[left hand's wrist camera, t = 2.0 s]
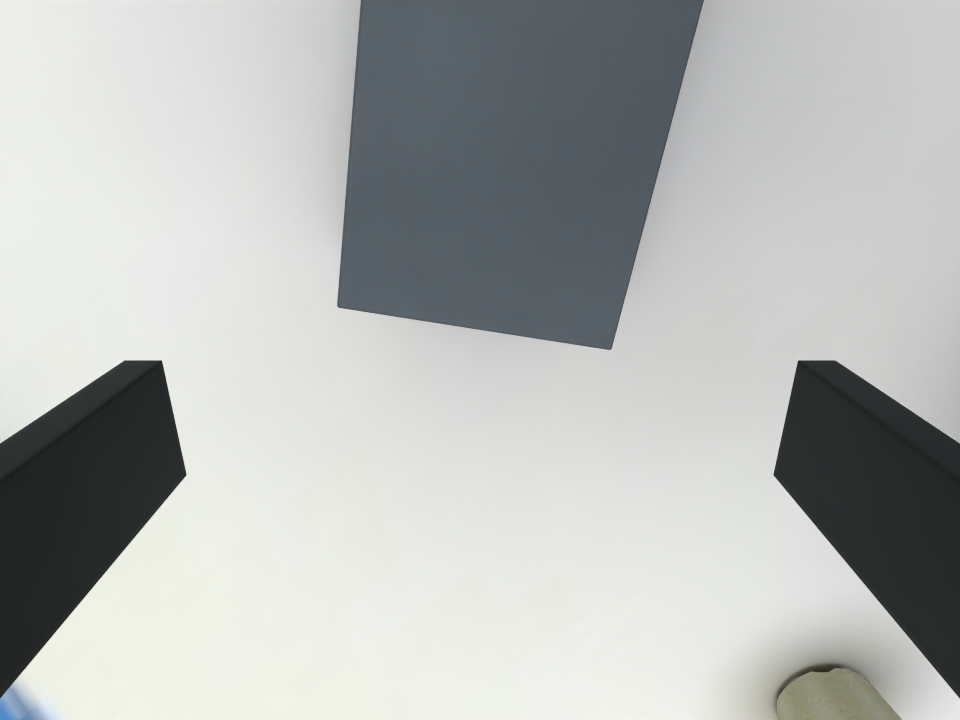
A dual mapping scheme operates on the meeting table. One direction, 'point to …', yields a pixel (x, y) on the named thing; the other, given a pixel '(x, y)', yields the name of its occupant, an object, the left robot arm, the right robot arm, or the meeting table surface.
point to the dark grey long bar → (507, 159)
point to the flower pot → (832, 698)
